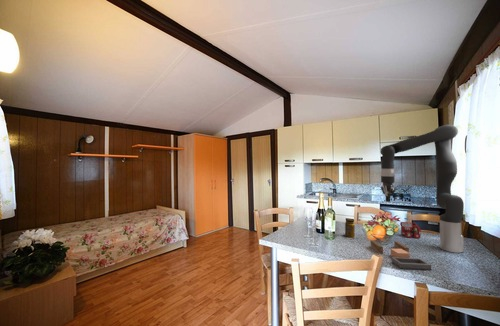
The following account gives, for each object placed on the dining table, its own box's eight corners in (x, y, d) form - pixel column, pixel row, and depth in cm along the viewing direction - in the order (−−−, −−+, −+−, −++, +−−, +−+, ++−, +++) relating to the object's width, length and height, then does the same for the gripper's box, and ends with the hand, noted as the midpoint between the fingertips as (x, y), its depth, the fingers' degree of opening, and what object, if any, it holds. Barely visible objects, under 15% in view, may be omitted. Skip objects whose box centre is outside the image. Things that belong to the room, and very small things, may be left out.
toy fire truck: (423, 239, 140) (423, 224, 140) (403, 237, 143) (403, 222, 143) (418, 236, 147) (417, 221, 147) (398, 234, 150) (398, 220, 150)
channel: (397, 247, 125) (397, 241, 125) (408, 254, 115) (408, 247, 115) (370, 246, 126) (370, 240, 126) (379, 253, 116) (379, 246, 117)
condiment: (357, 237, 144) (357, 220, 144) (350, 239, 140) (350, 221, 140) (347, 234, 150) (347, 217, 150) (340, 236, 146) (340, 219, 146)
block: (401, 255, 114) (401, 248, 114) (409, 260, 108) (409, 253, 108) (390, 255, 114) (390, 248, 115) (398, 260, 108) (398, 253, 109)
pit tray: (420, 263, 105) (420, 258, 105) (431, 270, 98) (431, 265, 98) (391, 262, 106) (391, 257, 106) (400, 268, 99) (400, 263, 99)
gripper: (400, 176, 128) (400, 203, 128) (387, 175, 142) (387, 200, 141) (387, 176, 129) (388, 203, 129) (376, 175, 142) (376, 199, 142)
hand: (387, 201), depth 135 cm, fingers closed
